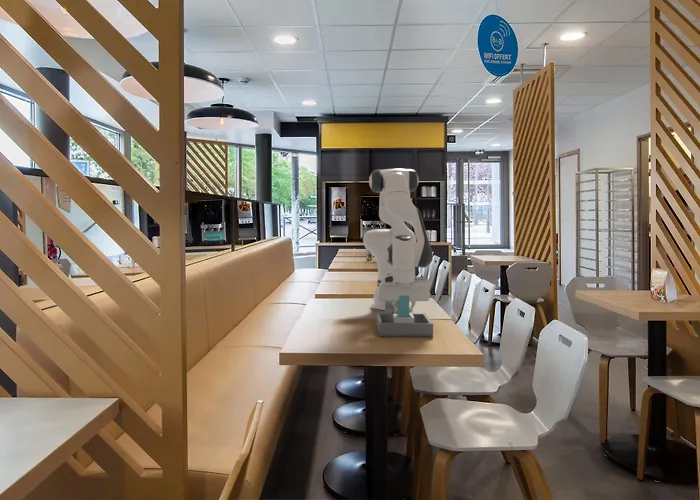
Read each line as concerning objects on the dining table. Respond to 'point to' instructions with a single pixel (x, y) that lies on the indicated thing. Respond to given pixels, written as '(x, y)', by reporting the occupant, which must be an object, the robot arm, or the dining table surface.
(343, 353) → the dining table surface
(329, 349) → the dining table surface
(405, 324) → the inlet box
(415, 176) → the robot arm
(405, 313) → the connector peg
